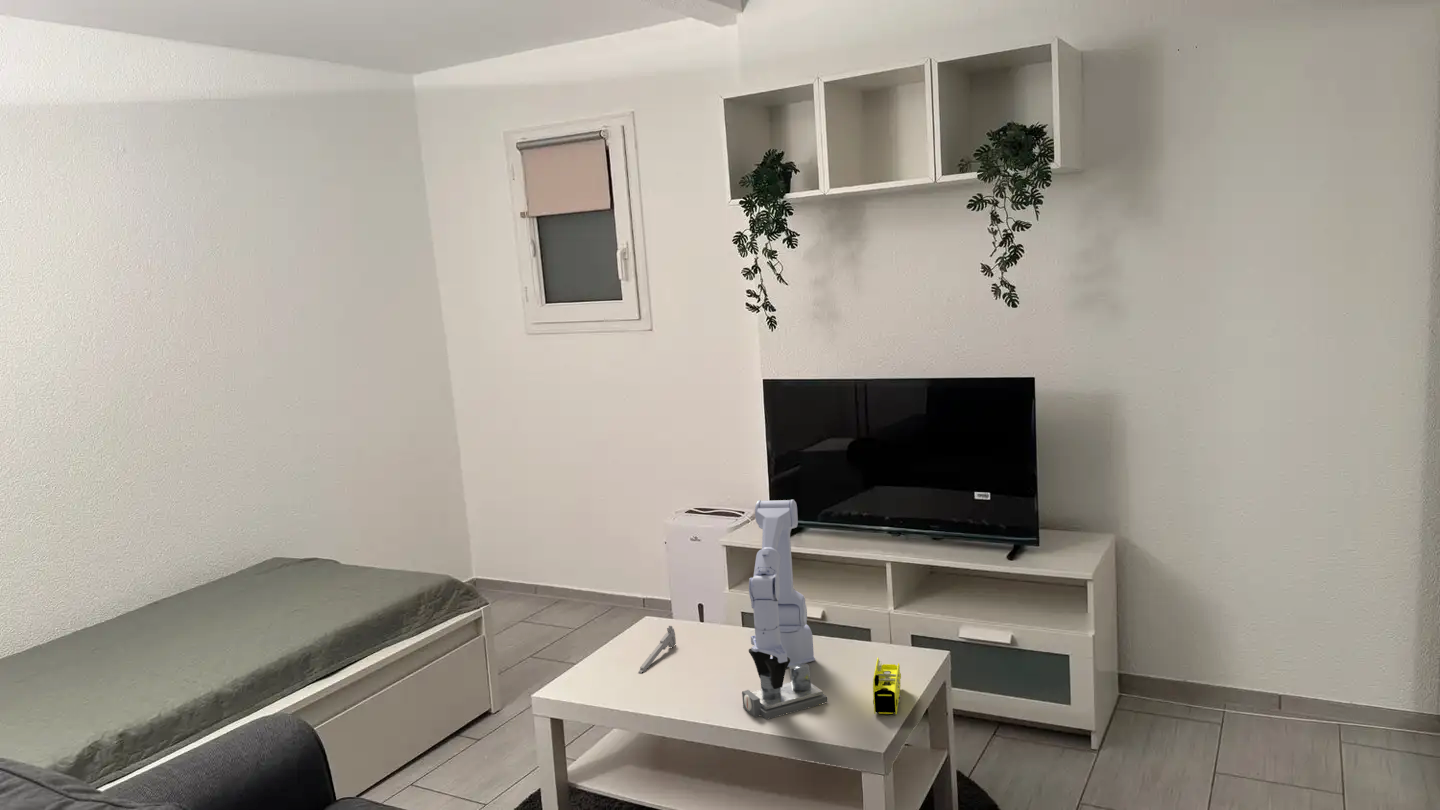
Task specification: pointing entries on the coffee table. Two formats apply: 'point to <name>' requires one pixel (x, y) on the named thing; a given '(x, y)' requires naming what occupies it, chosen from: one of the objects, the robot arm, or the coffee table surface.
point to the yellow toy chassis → (886, 688)
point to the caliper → (660, 648)
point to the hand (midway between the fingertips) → (770, 682)
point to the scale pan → (788, 696)
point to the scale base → (755, 709)
